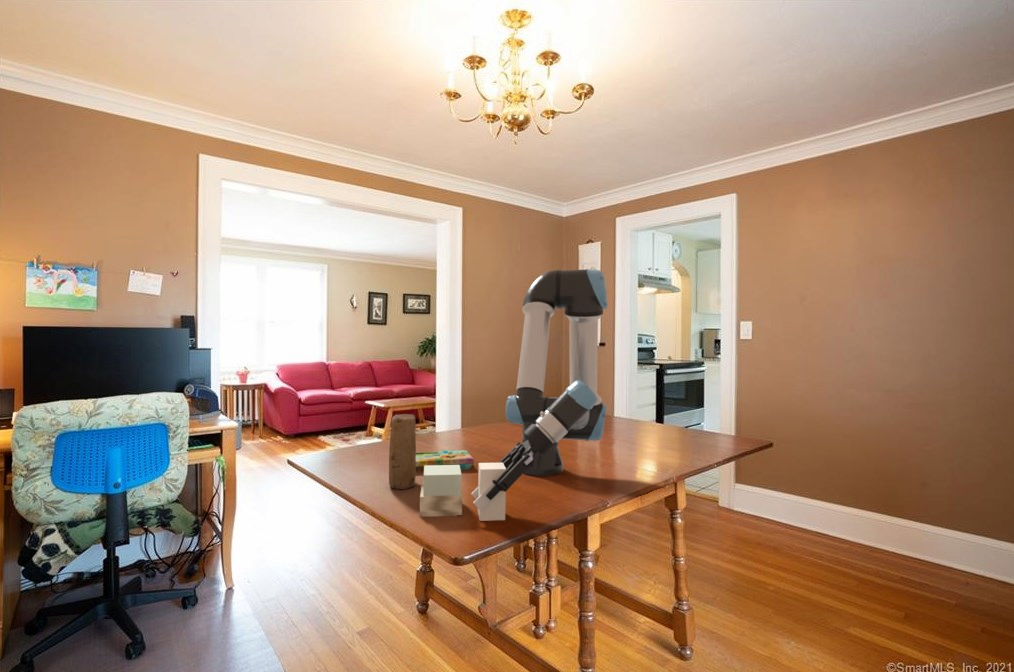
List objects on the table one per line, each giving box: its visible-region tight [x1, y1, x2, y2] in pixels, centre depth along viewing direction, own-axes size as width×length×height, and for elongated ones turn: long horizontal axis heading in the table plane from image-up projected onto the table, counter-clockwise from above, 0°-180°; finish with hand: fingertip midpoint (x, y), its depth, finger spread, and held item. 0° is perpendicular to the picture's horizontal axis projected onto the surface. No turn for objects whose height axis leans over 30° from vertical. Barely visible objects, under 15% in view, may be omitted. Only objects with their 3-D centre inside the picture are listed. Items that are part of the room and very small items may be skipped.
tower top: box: [423, 465, 463, 496], centre depth 124 cm, size 9×9×5 cm
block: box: [388, 413, 417, 490], centre depth 143 cm, size 11×8×20 cm
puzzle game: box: [416, 449, 475, 473], centre depth 163 cm, size 12×5×20 cm
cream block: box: [477, 462, 507, 522], centre depth 119 cm, size 6×6×12 cm
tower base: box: [419, 483, 463, 518], centre depth 124 cm, size 10×10×5 cm
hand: (476, 501), depth 119 cm, fingers closed on cream block, 6 cm apart
